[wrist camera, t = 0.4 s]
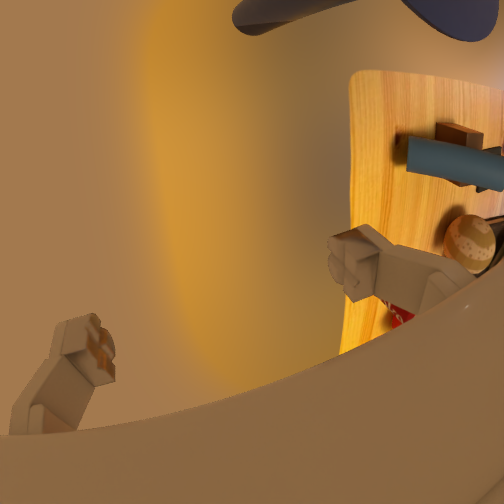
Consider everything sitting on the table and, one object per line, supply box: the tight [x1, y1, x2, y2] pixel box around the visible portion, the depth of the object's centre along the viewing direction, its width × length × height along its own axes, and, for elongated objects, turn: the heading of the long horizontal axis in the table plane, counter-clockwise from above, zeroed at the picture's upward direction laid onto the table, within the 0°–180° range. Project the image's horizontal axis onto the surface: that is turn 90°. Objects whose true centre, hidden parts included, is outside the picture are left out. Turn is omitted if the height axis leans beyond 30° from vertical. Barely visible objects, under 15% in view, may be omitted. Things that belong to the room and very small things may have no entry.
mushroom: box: [443, 215, 495, 274], centre depth 45 cm, size 10×11×15 cm
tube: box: [406, 136, 504, 192], centre depth 30 cm, size 13×5×13 cm, turn 96°
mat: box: [476, 146, 502, 193], centre depth 42 cm, size 8×8×1 cm
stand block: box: [435, 123, 484, 187], centre depth 34 cm, size 5×8×6 cm, turn 5°
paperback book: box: [473, 216, 504, 278], centre depth 56 cm, size 16×23×2 cm
